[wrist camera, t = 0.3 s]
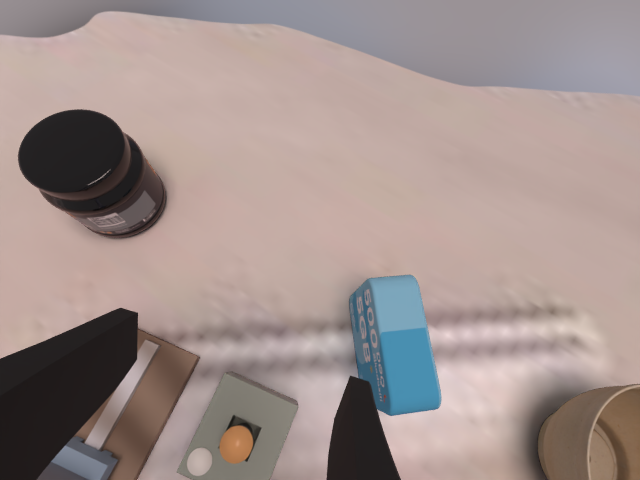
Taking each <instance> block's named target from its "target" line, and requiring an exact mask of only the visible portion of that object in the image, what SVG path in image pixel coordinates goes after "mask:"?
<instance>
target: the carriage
mask: <svg viewBox="0 0 640 480" xmlns="http://www.w3.org/2000/svg"><path fill="white" fill-rule="evenodd" d="M83 441H84V439H82V438H80V437H77V436H76V437H73V438H72V439H71V440H70V441H69V442H68V443H67V444H66V445H65V446H64V448H63V449H62V450H61V451H60V452H59V453H58V454H57V455H56V457H55V458H54V459H53V460H52V461H51V462H50V464H49V465H48V466H47V467H46V468H45V470H44V471H43V472H42V473H41V475H40V476H39V477H38V479H37V480H107V479H108V477H109V475H110V474H111V472H112V470H113V468H114V466H115V464H116V463H117V461H118V460H117V459H115V458H113V457H111V456H112V454H113V453H111V452H109V451H107V450H104V451H102V452H101V451H99V450H96V449H94V448H92V447H90V446H88V445H86V444H84V443H82V442H83Z"/></svg>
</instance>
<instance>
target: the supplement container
mask: <svg viewBox="0 0 640 480" xmlns="http://www.w3.org/2000/svg"><path fill="white" fill-rule="evenodd" d="M18 163H19V167H20V170H21V172H22V174H23V175H24V177H25V178H26V179H27V180H28V181H29V182H30V183H31V184H32V185H34V186H35V187H37V188H38V189H39V190H40V192H41V194H42V195H43V197H44V198H45V199H46V200H47V201H48V202H49V203H50V204H52V205H53V206H55V207H56V208H58V209H60V210H62V211H65V212H66V213H67V214H69V215H70V216H72V217H73V218H75V219H76V220H78V221H79V222H81V223H82V224H84V225H85V226H86V227H87V228H88V229H90V230H91V231H93V232H95V233H97V234H99V235H102V236H106V237H114V238H120V237H127V236H132V235H135V234H137V233H140V232H142V231H143V230H145V229H147V228H148V227H149V226H151V225H152V224H153V223H154V222H155V221H156V220H157V218H158V217H159V216H160V214H161V212H162V210H163V207H164V204H165V197H166V196H165V188H164V185H163V183H162V181H161V179H160V177H159V176H158V175H157V173H156V172H155V171H154V170H153V168H152V167H151V165H150V164H149V162H148V161H147V160H146V158H145V157H144V155H143V153H142V151H141V149H140V147H139V146H138V144H137V143H136V142H135V141H134V140H133V139H132V138H131V137H130V136H128V135H127V134H125V133H124V132H123V131H122V130H121V128H120V127H119V126H118V125H117V124H116V123H115V122H114V121H113V120H112V119H111V118H109V117H108V116H106V115H104V114H102V113H99V112H95V111H91V110H82V109H77V110H68V111H63V112H59V113H56V114H53V115H51V116H49V117H47V118H45V119H43V120H42V121H40V122H39V123H37V124H36V125H35V126H34V127H33V128H32V129H31V130H30V131H29V132H28V133H27V134H26V136H25V137H24V139H23V141H22V143H21V145H20V148H19V152H18Z"/></svg>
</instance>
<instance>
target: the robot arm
mask: <svg viewBox="0 0 640 480" xmlns="http://www.w3.org/2000/svg"><path fill="white" fill-rule="evenodd" d="M137 339H138V313H136V312H133V311H130V310H126V309H123V308H119V309H116V310H114V311H111V312H109V313H107V314H105V315H102V316H100V317H98V318H96V319H93V320H91V321H89V322H87V323H84V324H82V325H80V326H78V327H76V328H73V329H71V330H69V331H66V332H64V333H62V334H59V335H57V336H55V337H53V338H50V339H48V340H46V341H43V342H41V343H38V344H36V345H33V346H31V347H28V348H26V349H23V350H21V351H18V352H16V353H13V354H11V355H8V356H6V357H3V358H1V359H0V480H37V479H38V477H39V476H40V475H41V473H42V472H43V471H44V470H45V468H46V467H47V466H48V465H49V464H50V462H51V461H52V460H53V459H54V458H55V457H56V455H57V454H58V453H59V452H60V451H61V450H62V449H63V448H64V446H65V445H66V444H67V443H68V442H69V441H70V440H71V439H72V438H73V436H74V435H75V434H76V433H77V432H78V431H79V430H80V429H81V428H82V427H83V425H84V424H85V423H86V422H87V421H88V420H89V419H90V418H91V417H92V415H93V414H94V413H95V412H96V411H97V410H98V409H99V408H100V407H101V405H102V404H103V403H104V402H105V401H106V400H107V399H108V398H109V396H110V395H111V394H112V393H113V392H114V391H115V390H116V388H117V387H118V386H119V385H120V383H121V382H122V380H123V379H124V378H125V376H126V375H127V374H128V372H129V371H130V369H131V368H132V366H133V365H134V363H135V362H136V361H137ZM327 480H401V479H400V476H399V474H398V471H397V469H396V466H395V463H394V461H393V458H392V455H391V452H390V449H389V446H388V443H387V440H386V437H385V435H384V431H383V428H382V425H381V422H380V418H379V415H378V411H377V408H376V404H375V400H374V396H373V392H372V387H371V384H370V382H369V381H366V380H363V379H359V378H356V377H352V376H350V378H349V381H348V383H347V386H346V389H345V391H344V394H343V397H342V400H341V402H340V405H339V408H338V410H337V413H336V416H335V418H334V424H333V430H332V435H331V441H330V448H329V455H328V468H327Z"/></svg>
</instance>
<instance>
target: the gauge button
mask: <svg viewBox="0 0 640 480" xmlns="http://www.w3.org/2000/svg"><path fill="white" fill-rule="evenodd" d="M252 435H253V431H252V428H251V426H250V425H249V424H247V423H240V424H238V425H236V426H233V427H231V428H229V429H228V430H227V431H226V432H225V433H224V434H223V436H222V438H221V441H220V447H219V448H220V453H221V455H222V457H223V459H224V460H226V461H227V462H229V463H232V464H236V463H240V462H242V461H244V460H245V459H246V458H247V457H248V456H249V454H250V452H251V450H252V447H253V437H252Z"/></svg>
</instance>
